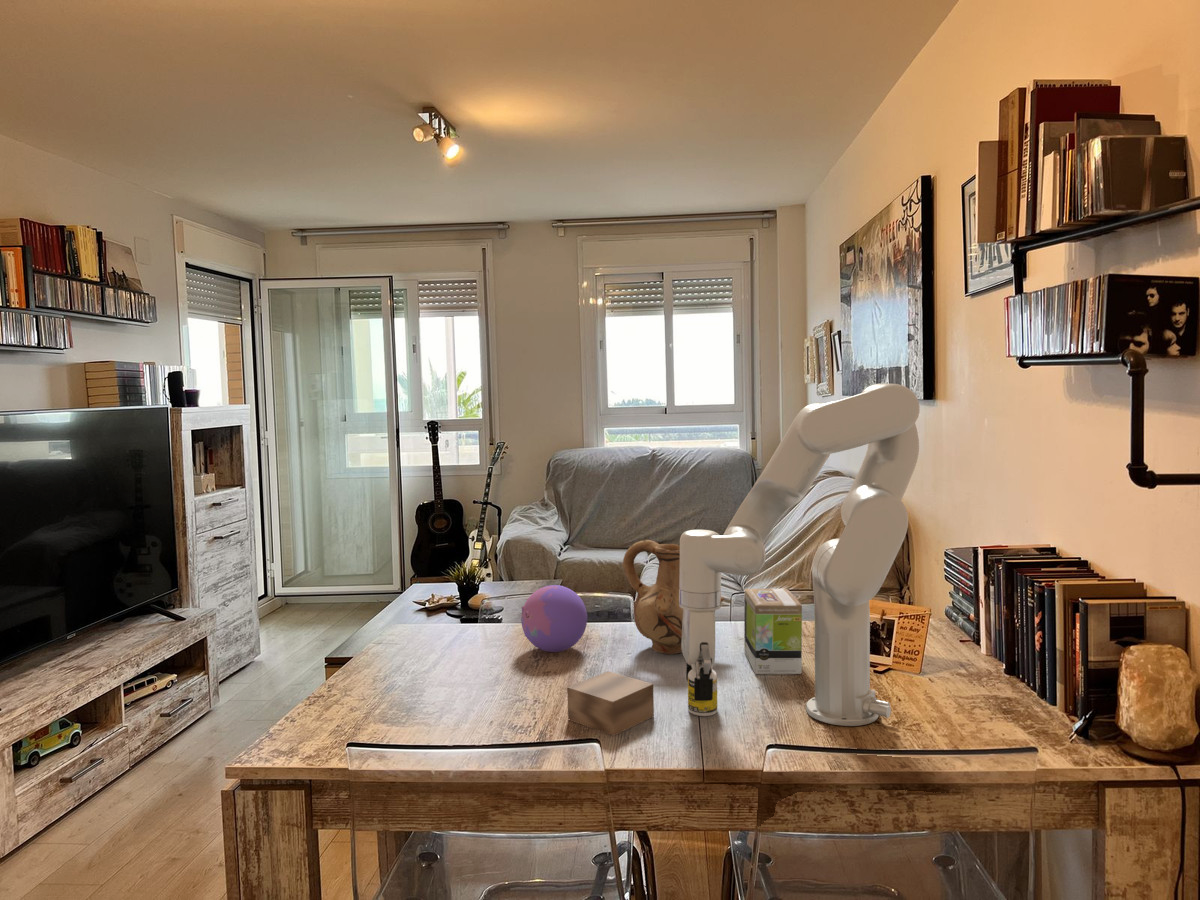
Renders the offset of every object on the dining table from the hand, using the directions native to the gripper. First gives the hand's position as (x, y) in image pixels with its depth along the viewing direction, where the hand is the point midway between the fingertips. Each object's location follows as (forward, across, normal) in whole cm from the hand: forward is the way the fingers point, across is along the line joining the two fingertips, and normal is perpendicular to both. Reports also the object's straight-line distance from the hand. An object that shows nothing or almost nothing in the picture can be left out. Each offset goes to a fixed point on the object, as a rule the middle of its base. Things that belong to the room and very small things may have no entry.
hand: (699, 690), depth 153 cm
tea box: (+4, -25, +20) cm, 32 cm away
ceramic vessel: (+4, -36, 0) cm, 36 cm away
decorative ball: (+5, -39, -27) cm, 47 cm away
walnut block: (+4, +2, -16) cm, 17 cm away
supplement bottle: (+4, 0, +1) cm, 4 cm away
